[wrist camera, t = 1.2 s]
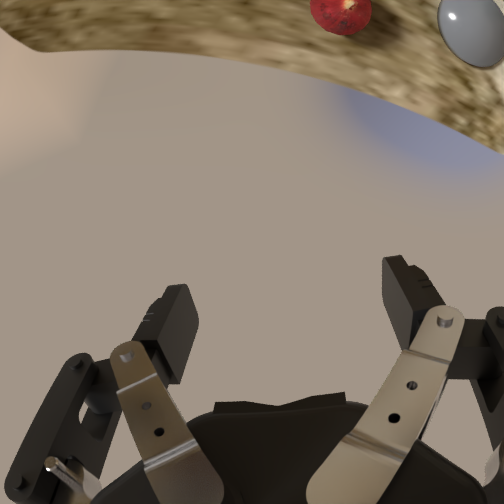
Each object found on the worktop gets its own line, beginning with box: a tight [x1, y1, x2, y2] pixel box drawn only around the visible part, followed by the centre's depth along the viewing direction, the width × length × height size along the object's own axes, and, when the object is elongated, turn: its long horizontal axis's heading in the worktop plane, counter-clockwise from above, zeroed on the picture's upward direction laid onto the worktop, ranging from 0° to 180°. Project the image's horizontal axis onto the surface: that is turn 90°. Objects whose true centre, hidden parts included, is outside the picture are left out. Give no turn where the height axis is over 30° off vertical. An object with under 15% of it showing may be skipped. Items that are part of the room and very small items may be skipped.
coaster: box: [437, 0, 504, 67], centre depth 22 cm, size 10×10×1 cm
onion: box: [310, 0, 372, 35], centre depth 22 cm, size 6×6×8 cm
